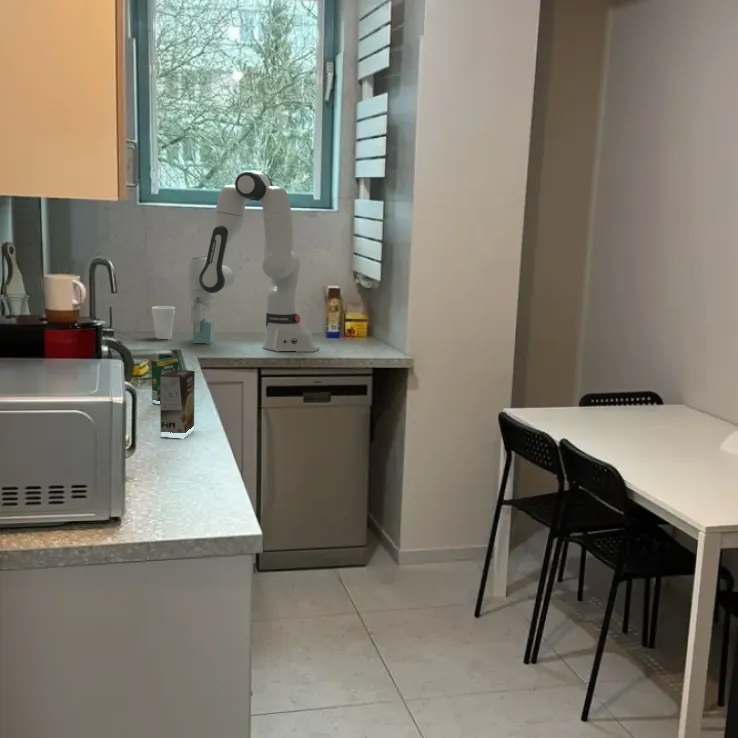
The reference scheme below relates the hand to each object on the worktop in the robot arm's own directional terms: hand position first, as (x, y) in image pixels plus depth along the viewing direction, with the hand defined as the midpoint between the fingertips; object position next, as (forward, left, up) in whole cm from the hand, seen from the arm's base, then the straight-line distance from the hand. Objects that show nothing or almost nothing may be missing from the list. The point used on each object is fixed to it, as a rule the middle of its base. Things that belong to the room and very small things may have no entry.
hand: (200, 330), depth 367 cm
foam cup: (+17, -6, -5) cm, 18 cm away
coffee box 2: (-10, +107, -5) cm, 108 cm away
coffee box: (-21, +141, -5) cm, 143 cm away
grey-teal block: (-1, 0, -5) cm, 5 cm away
